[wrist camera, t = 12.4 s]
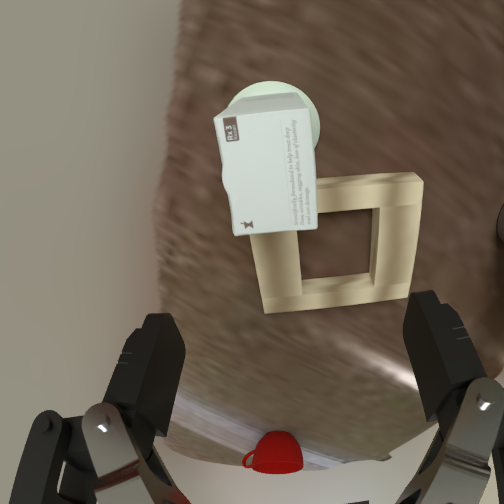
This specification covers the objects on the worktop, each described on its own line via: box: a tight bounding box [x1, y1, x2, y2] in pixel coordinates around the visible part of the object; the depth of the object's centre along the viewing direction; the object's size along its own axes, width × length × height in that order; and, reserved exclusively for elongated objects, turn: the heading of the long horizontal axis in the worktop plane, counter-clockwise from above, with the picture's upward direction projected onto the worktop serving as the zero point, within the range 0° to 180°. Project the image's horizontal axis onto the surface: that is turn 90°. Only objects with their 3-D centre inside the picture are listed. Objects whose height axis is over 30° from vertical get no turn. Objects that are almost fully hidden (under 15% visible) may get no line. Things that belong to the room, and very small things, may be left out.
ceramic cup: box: [242, 431, 303, 474], centre depth 70 cm, size 13×17×10 cm
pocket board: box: [250, 172, 424, 314], centre depth 37 cm, size 20×17×3 cm
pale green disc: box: [228, 81, 320, 148], centre depth 31 cm, size 10×10×1 cm
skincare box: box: [214, 92, 318, 236], centre depth 25 cm, size 8×6×15 cm
